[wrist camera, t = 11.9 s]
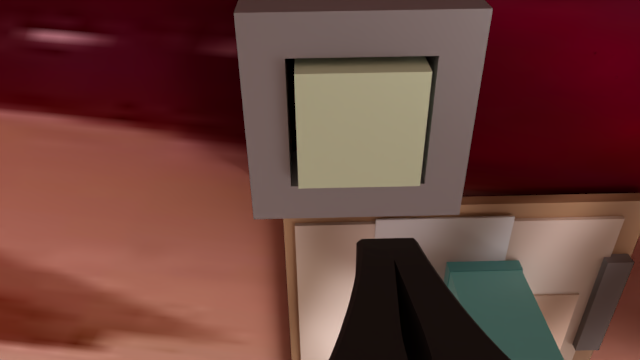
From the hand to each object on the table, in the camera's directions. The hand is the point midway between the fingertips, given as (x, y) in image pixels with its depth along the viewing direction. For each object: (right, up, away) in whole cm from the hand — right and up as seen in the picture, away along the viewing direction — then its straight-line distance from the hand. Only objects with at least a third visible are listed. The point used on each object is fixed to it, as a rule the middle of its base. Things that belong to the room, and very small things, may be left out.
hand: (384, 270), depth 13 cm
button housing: (0, +6, +8) cm, 10 cm away
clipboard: (+5, -4, +14) cm, 16 cm away
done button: (0, +5, +8) cm, 9 cm away
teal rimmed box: (+6, -3, +13) cm, 14 cm away
